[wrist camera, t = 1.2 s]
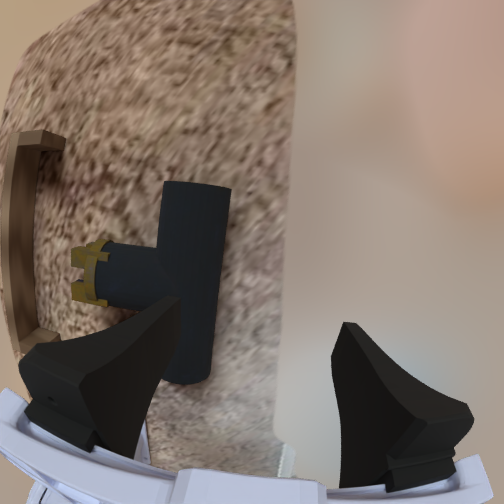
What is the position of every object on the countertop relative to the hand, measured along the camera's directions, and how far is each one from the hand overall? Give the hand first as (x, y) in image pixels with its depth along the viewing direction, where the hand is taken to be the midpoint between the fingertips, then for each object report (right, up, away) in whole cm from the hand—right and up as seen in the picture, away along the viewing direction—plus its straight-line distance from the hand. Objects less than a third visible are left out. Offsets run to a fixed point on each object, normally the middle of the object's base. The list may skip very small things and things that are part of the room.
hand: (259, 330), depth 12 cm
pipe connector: (-9, +2, +12) cm, 15 cm away
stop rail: (-21, +4, +10) cm, 23 cm away
